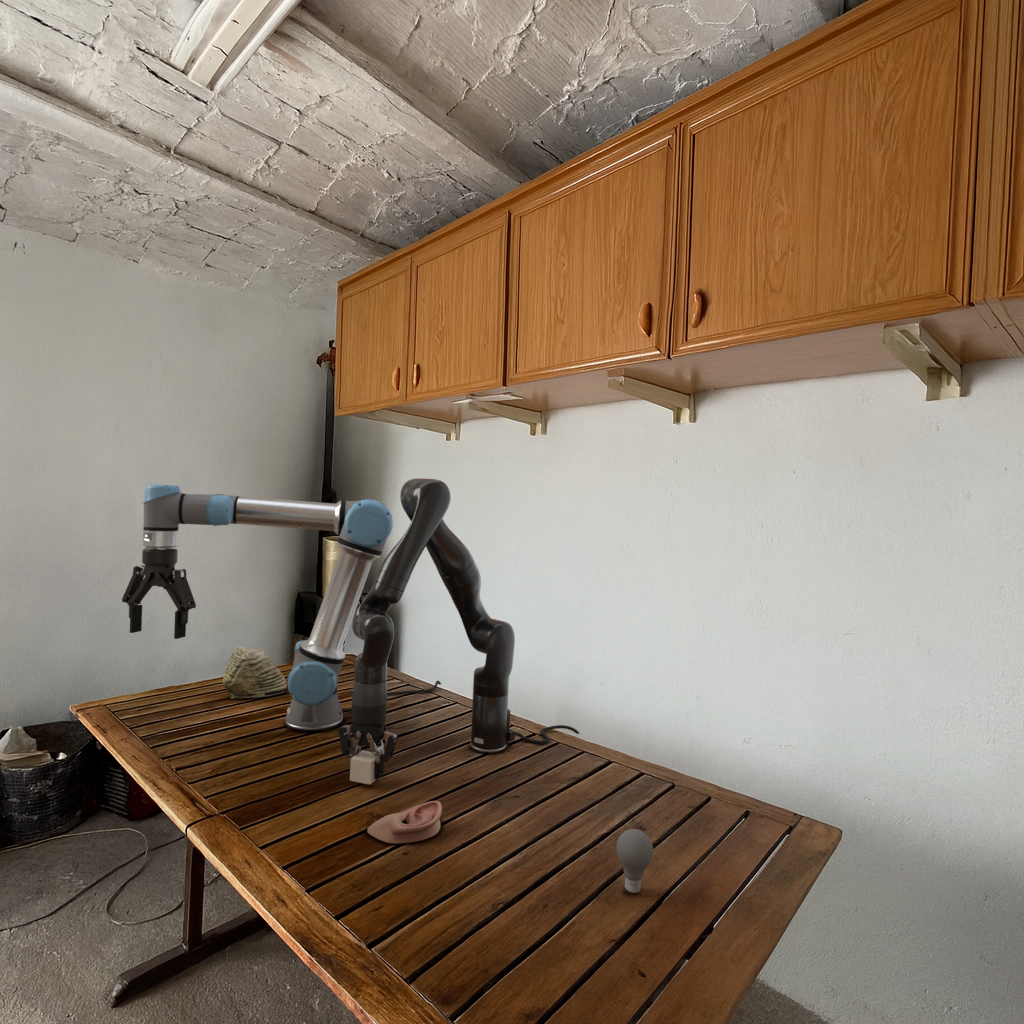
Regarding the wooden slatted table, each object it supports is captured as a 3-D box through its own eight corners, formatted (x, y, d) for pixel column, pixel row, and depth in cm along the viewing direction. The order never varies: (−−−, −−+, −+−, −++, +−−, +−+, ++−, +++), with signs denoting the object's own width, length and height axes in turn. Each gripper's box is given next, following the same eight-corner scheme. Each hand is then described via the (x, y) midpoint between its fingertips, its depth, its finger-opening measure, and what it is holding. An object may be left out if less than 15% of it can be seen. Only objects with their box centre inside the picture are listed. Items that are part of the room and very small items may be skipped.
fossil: (218, 695, 195) (220, 647, 195) (278, 685, 208) (279, 640, 207) (228, 703, 189) (230, 653, 188) (289, 692, 201) (290, 645, 201)
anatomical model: (360, 817, 118) (385, 790, 129) (359, 839, 118) (384, 809, 129) (428, 828, 115) (447, 799, 126) (427, 850, 115) (446, 819, 126)
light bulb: (610, 879, 108) (613, 822, 108) (644, 879, 109) (647, 822, 109) (619, 902, 102) (622, 840, 102) (655, 901, 103) (658, 840, 103)
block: (349, 780, 139) (350, 758, 139) (361, 771, 144) (362, 750, 144) (370, 784, 138) (371, 762, 138) (381, 775, 143) (382, 753, 142)
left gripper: (106, 545, 154) (104, 632, 154) (189, 552, 147) (186, 643, 147) (133, 543, 161) (130, 626, 161) (213, 550, 154) (210, 637, 154)
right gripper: (331, 700, 139) (328, 777, 139) (390, 709, 135) (387, 788, 135) (350, 691, 146) (346, 764, 147) (406, 699, 142) (403, 774, 143)
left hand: (157, 634), depth 154 cm, fingers open, 13 cm apart
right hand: (366, 775), depth 141 cm, fingers closed on block, 5 cm apart
